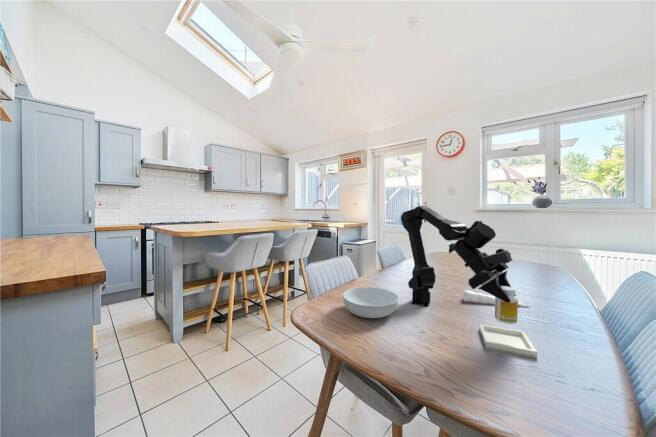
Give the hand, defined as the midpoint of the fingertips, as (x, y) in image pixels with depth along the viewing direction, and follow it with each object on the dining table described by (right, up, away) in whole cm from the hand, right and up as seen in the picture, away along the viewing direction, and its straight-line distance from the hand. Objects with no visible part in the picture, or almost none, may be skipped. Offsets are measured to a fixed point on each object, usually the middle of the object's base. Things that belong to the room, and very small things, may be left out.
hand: (512, 299), depth 71 cm
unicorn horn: (+15, -12, +31) cm, 37 cm away
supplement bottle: (-1, -7, +1) cm, 7 cm away
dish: (-1, -13, +2) cm, 13 cm away
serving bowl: (-37, -13, +23) cm, 46 cm away
